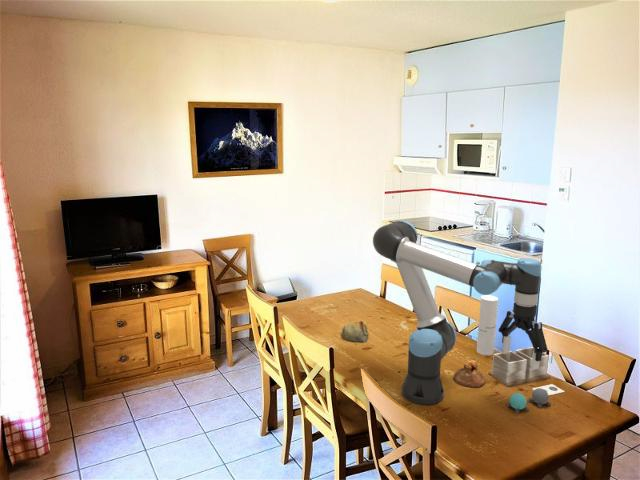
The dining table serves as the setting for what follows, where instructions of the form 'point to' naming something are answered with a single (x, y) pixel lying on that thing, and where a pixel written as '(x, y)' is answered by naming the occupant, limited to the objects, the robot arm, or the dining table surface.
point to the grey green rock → (355, 332)
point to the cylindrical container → (487, 325)
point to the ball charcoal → (540, 396)
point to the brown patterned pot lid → (469, 376)
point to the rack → (518, 367)
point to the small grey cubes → (527, 407)
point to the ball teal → (518, 401)
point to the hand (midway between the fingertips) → (519, 360)
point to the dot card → (550, 389)
